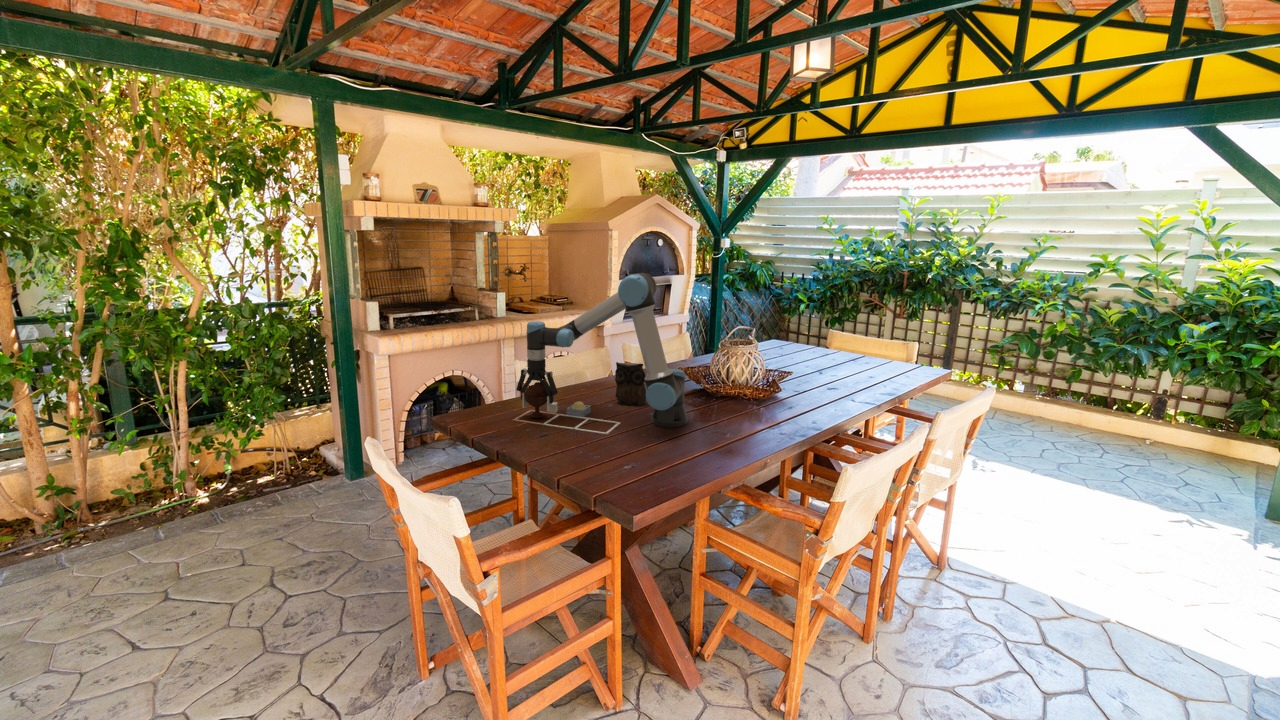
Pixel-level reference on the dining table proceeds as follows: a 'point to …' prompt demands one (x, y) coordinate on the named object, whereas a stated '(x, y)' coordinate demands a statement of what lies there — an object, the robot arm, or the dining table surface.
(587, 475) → the dining table surface
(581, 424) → the track
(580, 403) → the dome
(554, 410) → the die
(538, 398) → the ice cream bowl
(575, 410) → the base
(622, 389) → the owl
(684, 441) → the dining table surface
